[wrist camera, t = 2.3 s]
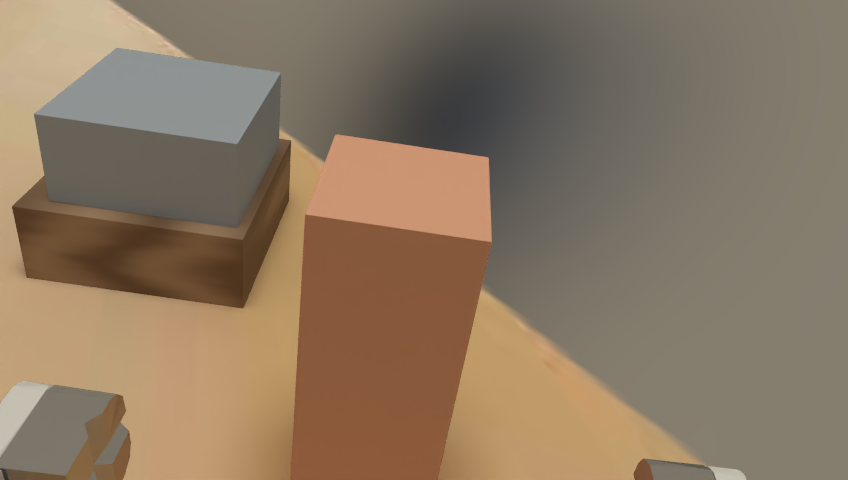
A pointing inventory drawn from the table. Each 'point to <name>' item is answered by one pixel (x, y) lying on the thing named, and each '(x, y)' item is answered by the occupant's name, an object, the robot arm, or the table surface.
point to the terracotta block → (386, 308)
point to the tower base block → (153, 244)
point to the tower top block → (161, 137)
